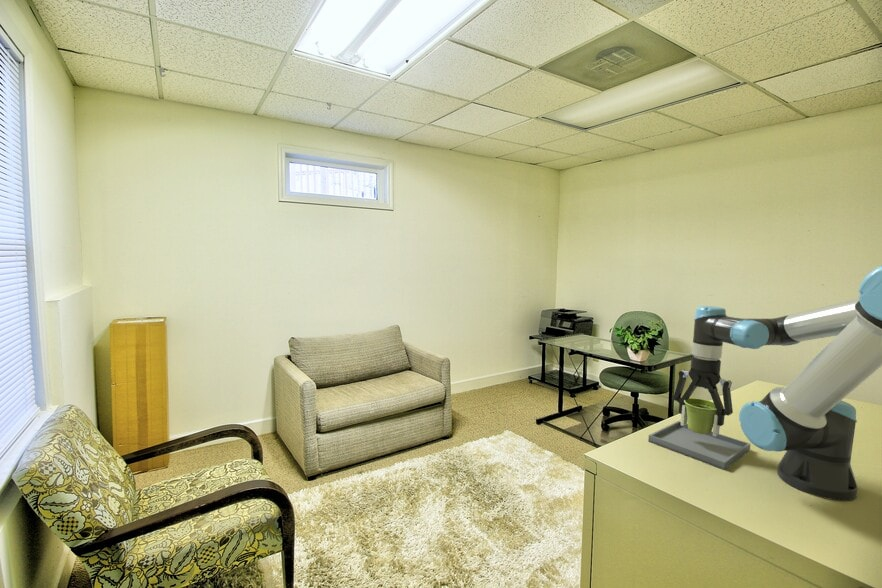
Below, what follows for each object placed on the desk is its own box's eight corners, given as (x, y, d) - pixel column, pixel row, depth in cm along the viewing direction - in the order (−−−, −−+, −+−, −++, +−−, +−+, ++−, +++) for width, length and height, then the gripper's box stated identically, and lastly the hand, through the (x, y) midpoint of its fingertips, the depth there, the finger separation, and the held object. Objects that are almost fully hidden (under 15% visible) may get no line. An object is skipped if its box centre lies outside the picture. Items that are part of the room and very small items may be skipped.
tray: (677, 426, 139) (678, 420, 139) (750, 450, 123) (750, 443, 123) (648, 441, 127) (648, 435, 127) (724, 470, 111) (724, 462, 111)
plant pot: (716, 440, 118) (719, 411, 117) (679, 431, 124) (682, 403, 123) (718, 430, 126) (721, 402, 125) (683, 421, 131) (686, 395, 131)
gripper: (752, 363, 117) (744, 439, 119) (675, 348, 133) (669, 415, 135) (743, 367, 112) (734, 446, 114) (664, 351, 129) (658, 420, 131)
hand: (699, 429), depth 125 cm, fingers closed on plant pot, 8 cm apart
